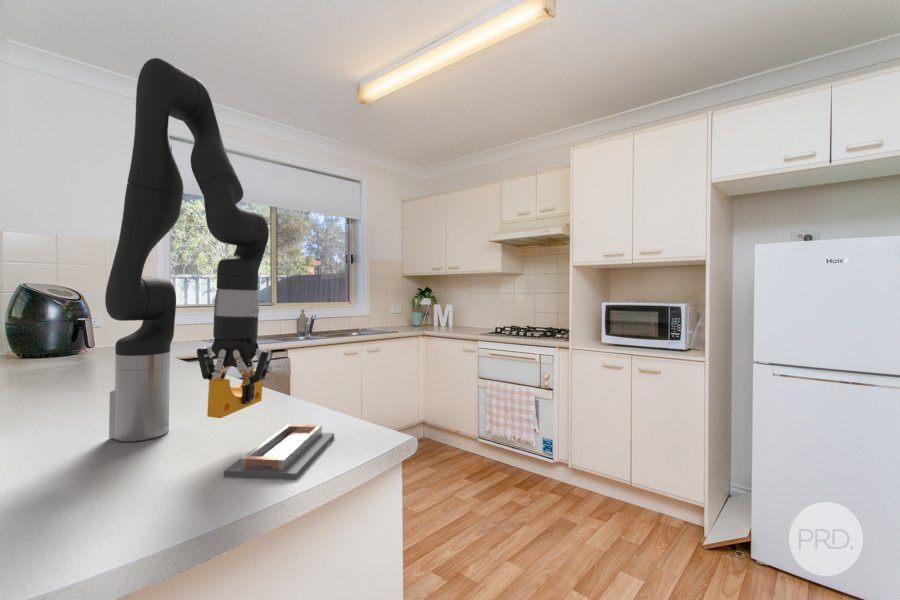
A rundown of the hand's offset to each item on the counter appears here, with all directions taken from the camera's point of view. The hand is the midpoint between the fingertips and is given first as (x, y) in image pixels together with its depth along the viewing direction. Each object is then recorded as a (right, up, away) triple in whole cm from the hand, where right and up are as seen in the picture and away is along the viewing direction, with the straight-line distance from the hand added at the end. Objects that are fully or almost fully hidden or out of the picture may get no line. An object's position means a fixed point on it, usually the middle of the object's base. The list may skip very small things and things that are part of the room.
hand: (233, 402), depth 79 cm
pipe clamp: (0, -1, 0) cm, 1 cm away
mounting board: (+11, -10, -1) cm, 14 cm away
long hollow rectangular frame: (+11, -10, -1) cm, 14 cm away
